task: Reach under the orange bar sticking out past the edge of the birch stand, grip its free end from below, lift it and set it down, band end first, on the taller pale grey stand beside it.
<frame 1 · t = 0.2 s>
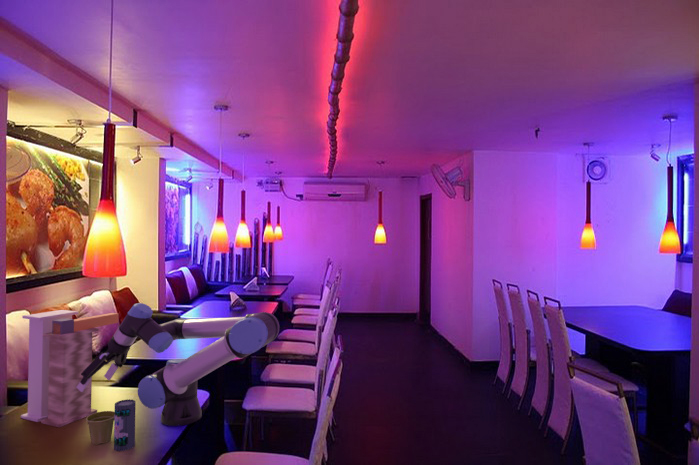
hand: (93, 383, 171), 16 cm above the table, tool tilted 35°, fingers open, 13 cm apart
plant pot: (101, 441, 158), on the table
orange bar: (87, 327, 184), point 34 cm above the table, touching birch stand
grey stand: (49, 412, 182), on the table
birch stand: (70, 417, 178), on the table
can: (124, 447, 154), on the table
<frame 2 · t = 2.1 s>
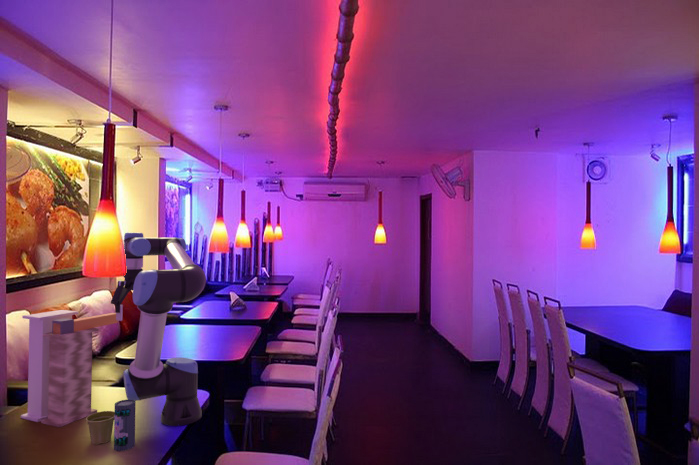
hand: (132, 317, 194), 37 cm above the table, tool pointing down, fingers open, 13 cm apart
nothing on the table moved.
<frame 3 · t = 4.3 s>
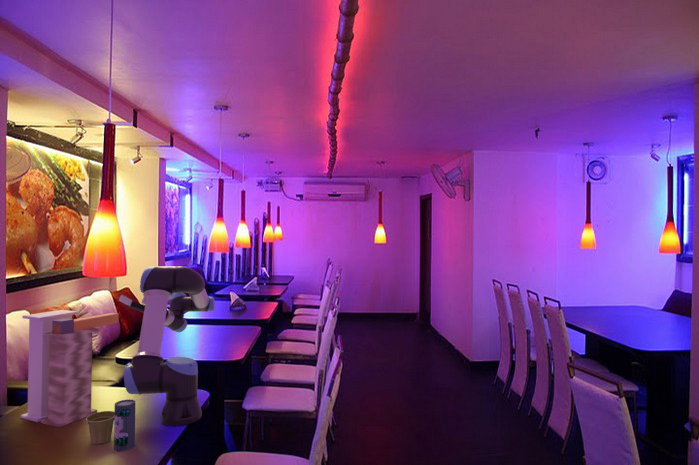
hand: (131, 298, 203), 44 cm above the table, tool pointing upward, fingers open, 13 cm apart
nothing on the table moved.
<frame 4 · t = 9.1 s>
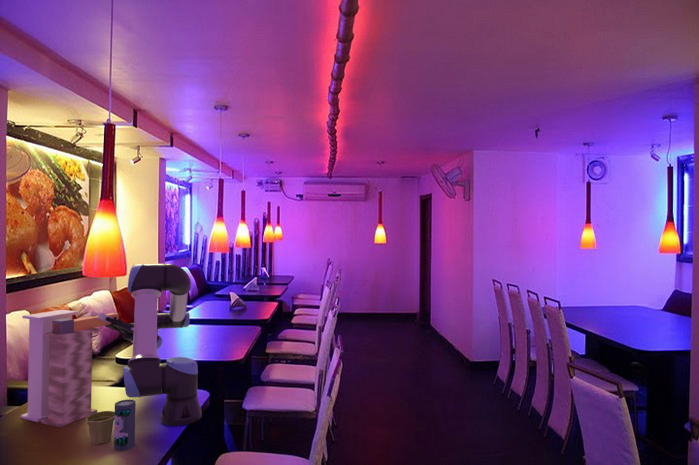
hand: (95, 315, 188), 39 cm above the table, tool pointing upward, fingers closed on orange bar, 4 cm apart
orange bar: (87, 327, 184), point 34 cm above the table, touching birch stand, gripper
everything else where it was.
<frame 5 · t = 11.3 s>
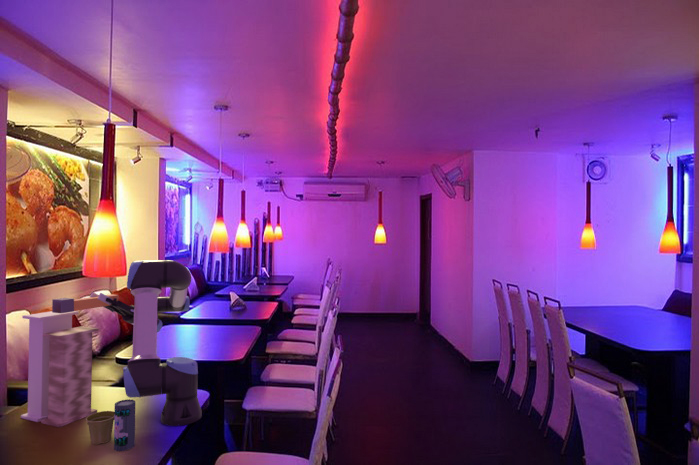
hand: (95, 295, 188), 47 cm above the table, tool pointing upward, fingers closed on orange bar, 4 cm apart
orange bar: (87, 308, 185), point 42 cm above the table, touching gripper
everything else where it was.
when the fingers open (46 cm above the table, at t = 13.7 s): orange bar stays where it is, resting on grey stand.
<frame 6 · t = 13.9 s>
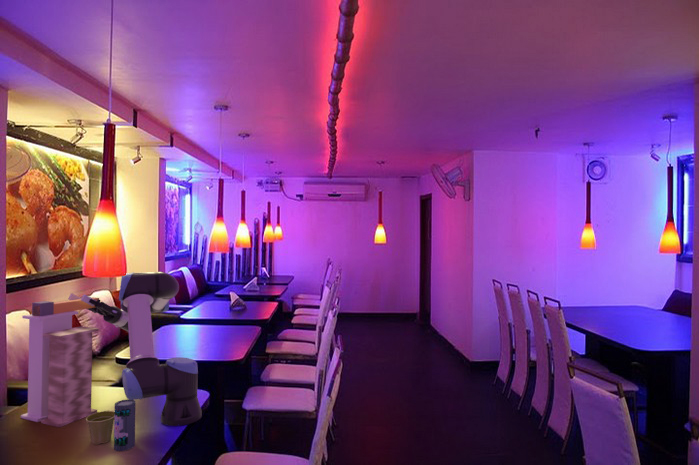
hand: (76, 296, 193), 45 cm above the table, tool pointing upward, fingers open, 7 cm apart
orange bar: (68, 310, 189), point 40 cm above the table, touching grey stand
everything else where it was.
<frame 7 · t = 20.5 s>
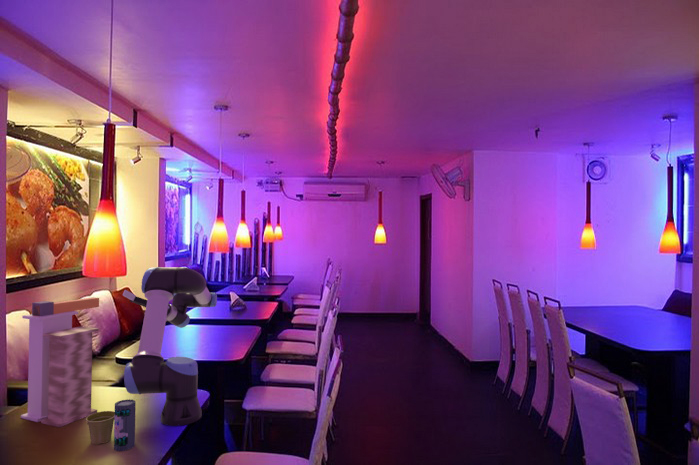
hand: (135, 293, 205), 46 cm above the table, tool pointing upward, fingers open, 13 cm apart
nothing on the table moved.
at the end: orange bar inside the target area on the grey stand (0.2 cm from its centre), point 40.0 cm above the grey stand's base; orange bar touching grey stand; the gripper is holding nothing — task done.
